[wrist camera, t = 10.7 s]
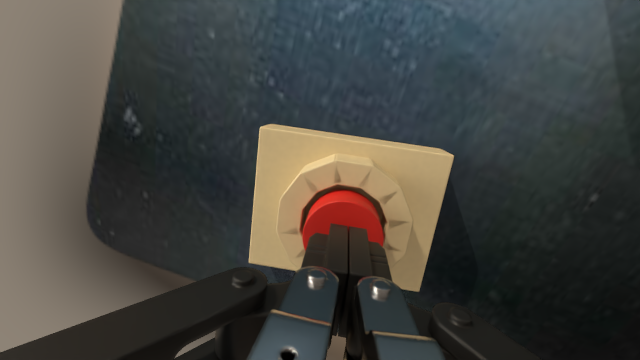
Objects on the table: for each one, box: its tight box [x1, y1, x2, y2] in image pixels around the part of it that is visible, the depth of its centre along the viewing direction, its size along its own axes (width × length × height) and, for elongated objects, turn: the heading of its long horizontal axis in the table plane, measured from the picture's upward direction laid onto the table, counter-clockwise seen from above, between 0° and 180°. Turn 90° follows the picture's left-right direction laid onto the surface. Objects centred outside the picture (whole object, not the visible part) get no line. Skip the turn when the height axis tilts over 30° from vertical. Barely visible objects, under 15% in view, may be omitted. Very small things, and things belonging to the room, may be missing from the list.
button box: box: [249, 124, 454, 292], centre depth 16 cm, size 10×8×4 cm
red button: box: [302, 190, 384, 251], centre depth 14 cm, size 4×4×2 cm
